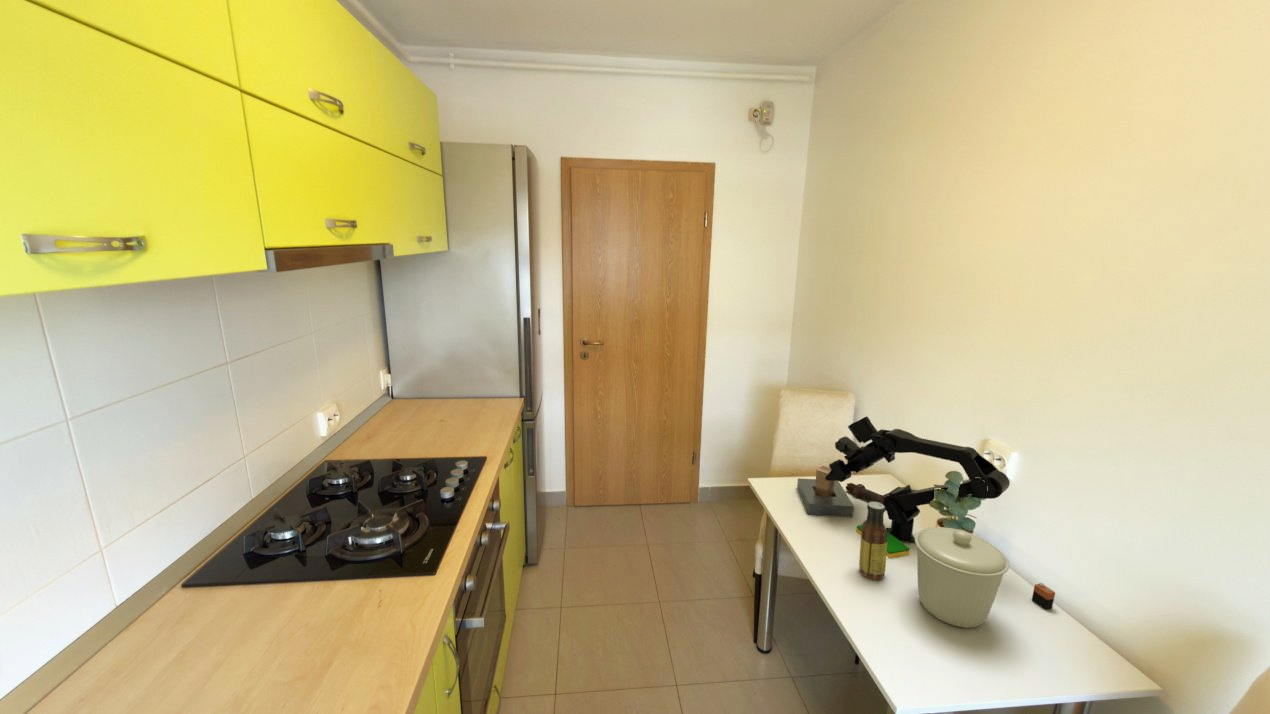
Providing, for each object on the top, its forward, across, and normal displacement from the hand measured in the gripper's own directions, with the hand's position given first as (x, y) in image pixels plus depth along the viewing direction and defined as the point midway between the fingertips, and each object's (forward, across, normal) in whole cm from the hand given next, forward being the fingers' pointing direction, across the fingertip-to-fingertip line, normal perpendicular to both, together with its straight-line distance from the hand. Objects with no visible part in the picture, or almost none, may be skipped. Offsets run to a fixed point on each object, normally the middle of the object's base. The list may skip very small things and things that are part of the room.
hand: (833, 475), depth 157 cm
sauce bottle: (-10, +24, +26) cm, 37 cm away
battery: (-32, +3, +48) cm, 58 cm away
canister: (-23, +23, +39) cm, 51 cm away
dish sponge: (-6, +8, +23) cm, 25 cm away
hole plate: (+10, 0, +6) cm, 12 cm away
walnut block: (+10, 0, +6) cm, 12 cm away
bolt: (+4, -14, +12) cm, 19 cm away
